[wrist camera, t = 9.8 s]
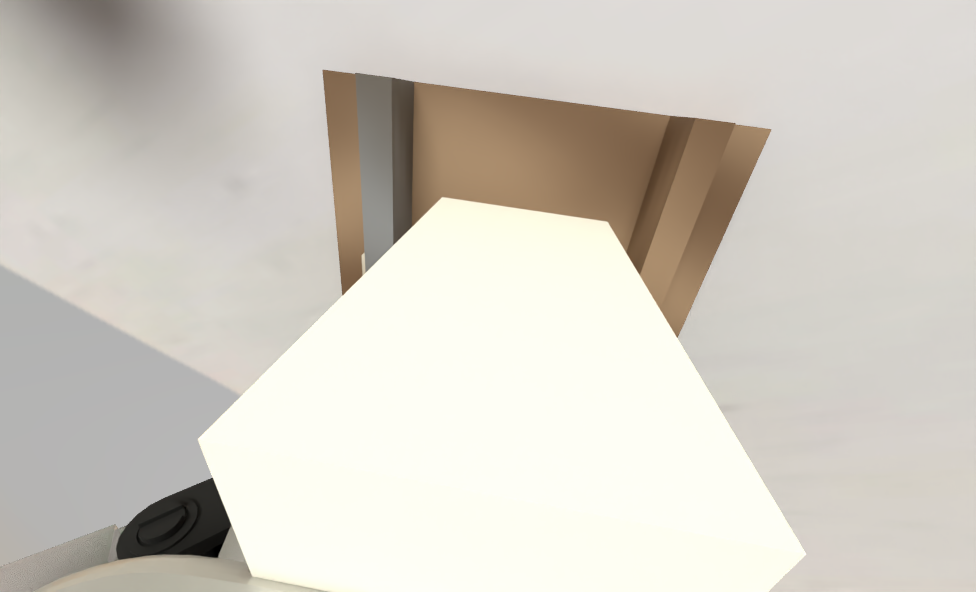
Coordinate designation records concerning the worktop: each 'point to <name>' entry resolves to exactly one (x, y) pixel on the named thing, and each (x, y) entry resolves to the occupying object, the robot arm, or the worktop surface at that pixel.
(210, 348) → the worktop surface
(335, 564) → the box
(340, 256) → the shelf
